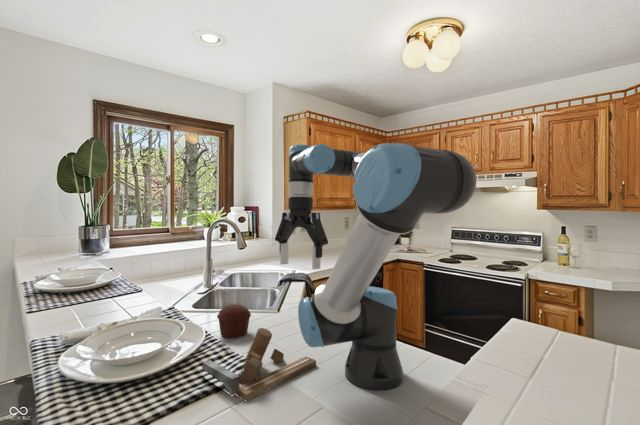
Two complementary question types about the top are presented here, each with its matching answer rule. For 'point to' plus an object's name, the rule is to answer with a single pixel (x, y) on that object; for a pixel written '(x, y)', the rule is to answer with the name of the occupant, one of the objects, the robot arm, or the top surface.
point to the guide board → (260, 383)
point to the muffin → (234, 321)
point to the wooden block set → (258, 356)
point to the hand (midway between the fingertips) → (299, 266)
